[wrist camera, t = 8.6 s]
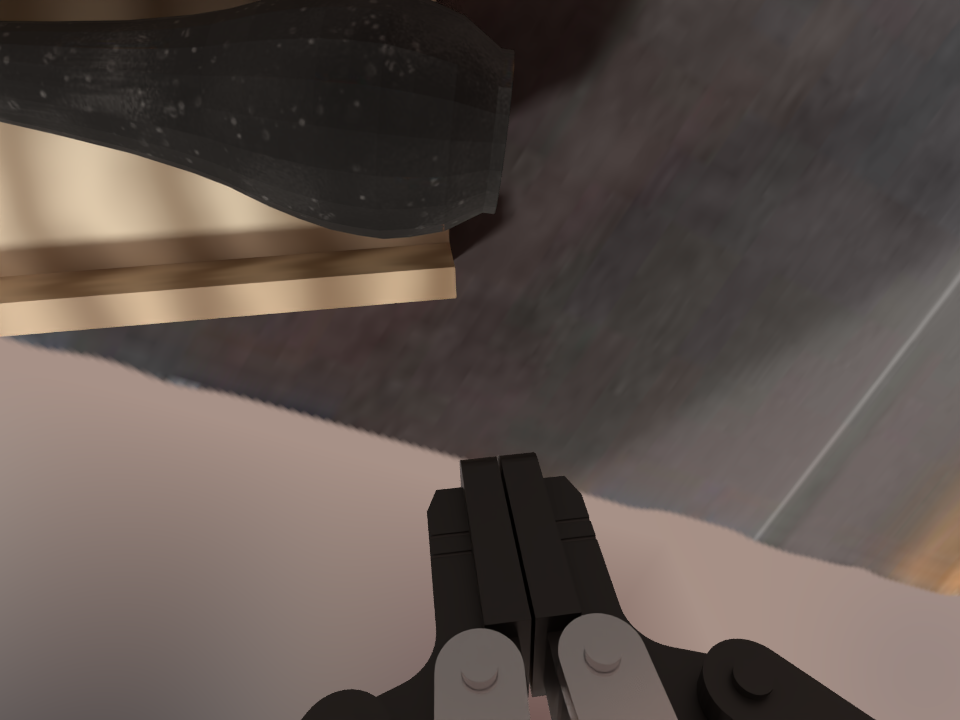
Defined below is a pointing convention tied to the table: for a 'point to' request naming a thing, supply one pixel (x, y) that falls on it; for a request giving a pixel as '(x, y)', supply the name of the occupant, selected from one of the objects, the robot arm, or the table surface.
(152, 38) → the bottle
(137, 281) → the trough
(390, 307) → the table surface
